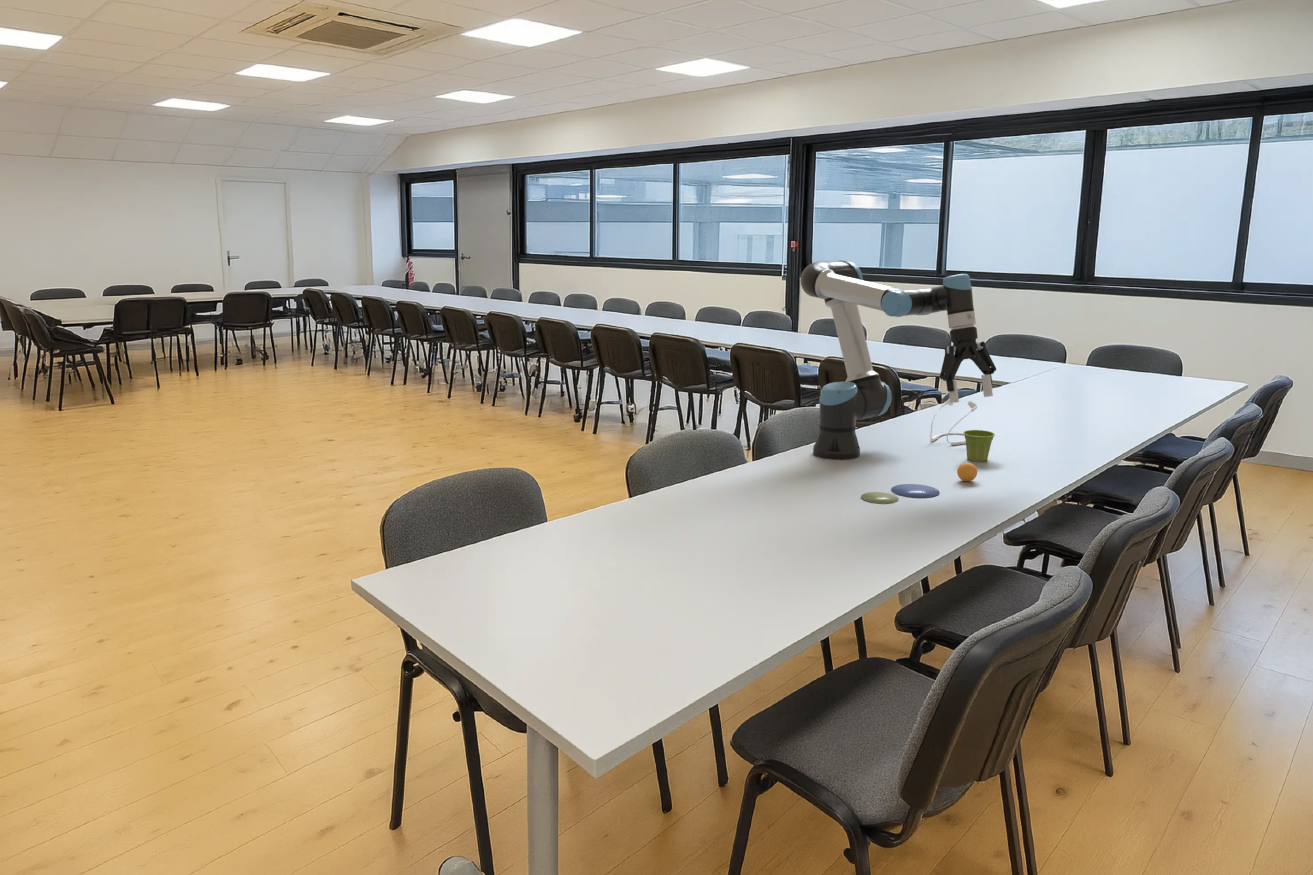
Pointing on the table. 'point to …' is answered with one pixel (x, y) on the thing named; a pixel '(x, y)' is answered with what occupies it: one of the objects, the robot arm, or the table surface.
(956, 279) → the robot arm
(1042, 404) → the table surface
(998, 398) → the table surface
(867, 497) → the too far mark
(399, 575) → the table surface
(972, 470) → the ball
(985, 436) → the plant pot
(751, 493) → the table surface
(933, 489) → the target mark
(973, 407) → the earphone
